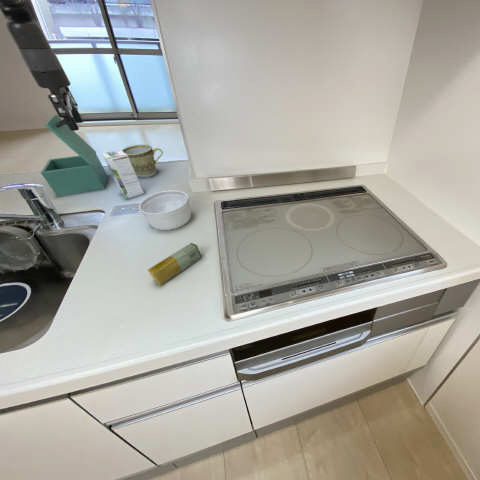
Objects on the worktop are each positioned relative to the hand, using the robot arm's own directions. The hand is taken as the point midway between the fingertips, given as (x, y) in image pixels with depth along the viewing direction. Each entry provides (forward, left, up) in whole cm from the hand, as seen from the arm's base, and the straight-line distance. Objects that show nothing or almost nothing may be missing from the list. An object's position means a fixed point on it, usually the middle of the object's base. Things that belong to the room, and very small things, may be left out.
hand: (77, 126), depth 85 cm
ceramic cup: (+15, +2, -20) cm, 25 cm away
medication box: (+20, -60, -20) cm, 66 cm away
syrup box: (+9, -13, -20) cm, 26 cm away
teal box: (-7, 0, -20) cm, 21 cm away
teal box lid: (-3, 0, -4) cm, 5 cm away
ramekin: (+20, -36, -20) cm, 46 cm away
